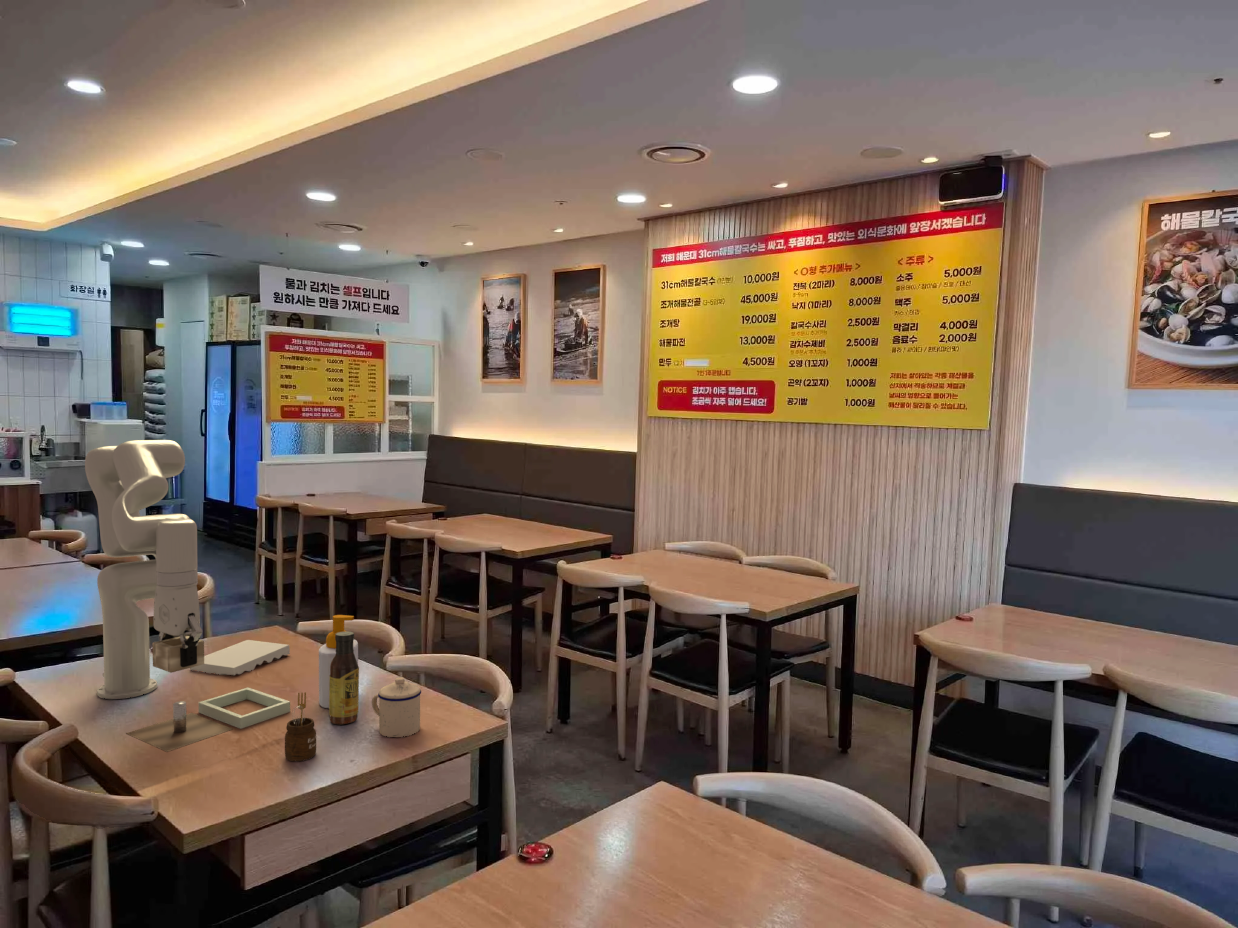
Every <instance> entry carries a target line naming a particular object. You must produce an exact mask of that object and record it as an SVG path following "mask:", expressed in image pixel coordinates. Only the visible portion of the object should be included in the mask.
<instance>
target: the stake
mask: <svg viewBox="0 0 1238 928" xmlns="http://www.w3.org/2000/svg"><path fill="white" fill-rule="evenodd" d="M172 710H173V711H172V715H173V717H172V719H173V723H174V733H183V732H185V731H187V724H186V714H187V702H186V701H183V700H182V701H181V700H180V701H176V702H174V703H172Z"/></svg>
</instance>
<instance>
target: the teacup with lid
mask: <svg viewBox="0 0 1238 928" xmlns="http://www.w3.org/2000/svg"><path fill="white" fill-rule="evenodd" d="M421 694H422V690H421V687H420V686H419V685H417V684H415V683H411V682H409V681H406V680H405V678H404V677H396V678H395V679H394V681H393V682H391V683H390V684H386V685H385V686H383V687H381V688H380V689H379V690H378V693H377V694H375V695H374V696H372V698H371V706H372V709H373V711H374V713H375V715H377V716H378V717H379V720H378V723H379V725H378V728H379V731H378V732H379V733H380V735H382V736H383V737H386V736H387V737H386V738H390V737H401V738H406V737H405V736H407V737H410V736H413V735H415V734H417V733H418V732H419V731H420V728H421ZM378 700H379V701H378ZM416 732H417V733H416ZM414 733H415V734H414ZM412 734H413V735H412ZM409 735H410V736H409ZM403 736H404V737H403Z"/></svg>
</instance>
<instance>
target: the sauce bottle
mask: <svg viewBox="0 0 1238 928" xmlns="http://www.w3.org/2000/svg"><path fill="white" fill-rule="evenodd" d="M345 631H346V632H338V633H336V634H335V640H336V655H335V657H334V658H333V660H332V662H331V665H330V689H329V708H328V709H329V710H328V711H329V712H328V714H329V720H330V723H331V724H333V725H348V724H351V723H354V722H355V721H357V719H358V714H359V694H360V693H359V691H360V690H359V689H360V688H359V687H360V686H359V685H360V684H359V683H360V682H359V681H360V667H359V663H358V664H357V661H356V658H355V655H354V652H353V651H354V650H353V640H354V639H355V632H352V631H347V630H345Z"/></svg>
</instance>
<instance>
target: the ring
mask: <svg viewBox="0 0 1238 928" xmlns="http://www.w3.org/2000/svg"><path fill="white" fill-rule="evenodd" d="M190 636H191V635H188V636H185V637H186V640H188V638H189V637H190ZM151 646H152V667H154V668H156V669H159V670H163V671H165V672H167V673H170V674H172V673H175V672H180V671H183V670H187V669H190V668H191V667H195V666H199V665H203V664H204V656H205V640H202V639H199V641H198V646H197V663H196V664H194V665H191V666H187V667H181V662H180V648H183V647H182V643H181V640H180V636H175V637H174V638H171V639H167V640H162V641H160V640H158V641H154V642H152V644H151Z"/></svg>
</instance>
